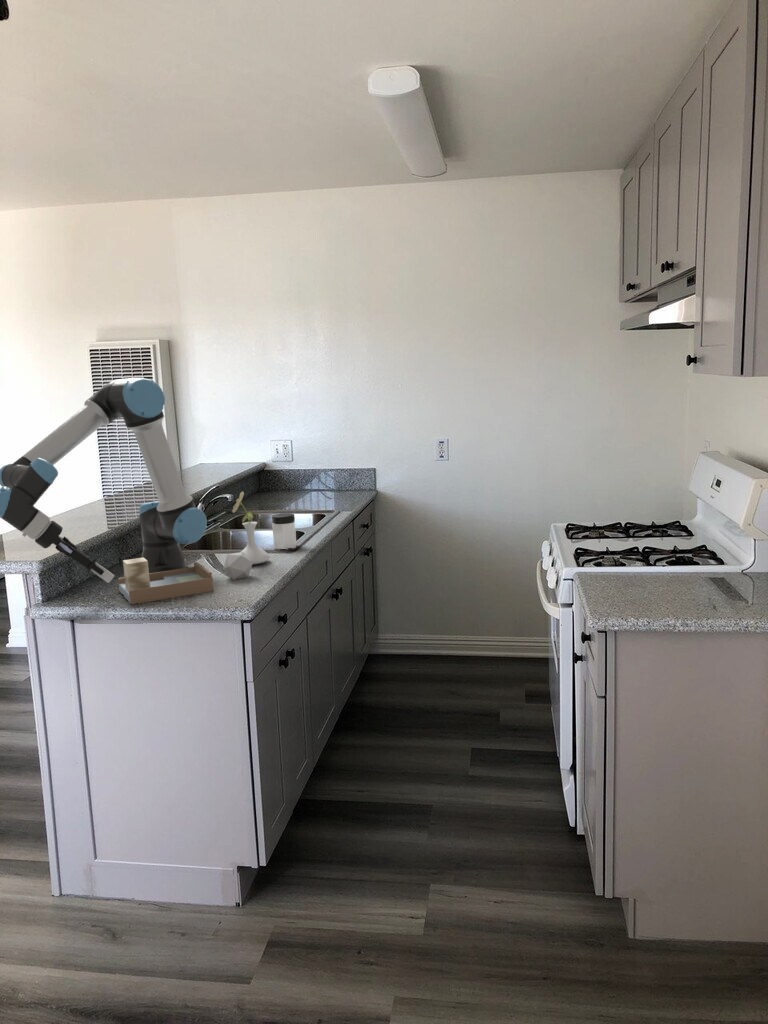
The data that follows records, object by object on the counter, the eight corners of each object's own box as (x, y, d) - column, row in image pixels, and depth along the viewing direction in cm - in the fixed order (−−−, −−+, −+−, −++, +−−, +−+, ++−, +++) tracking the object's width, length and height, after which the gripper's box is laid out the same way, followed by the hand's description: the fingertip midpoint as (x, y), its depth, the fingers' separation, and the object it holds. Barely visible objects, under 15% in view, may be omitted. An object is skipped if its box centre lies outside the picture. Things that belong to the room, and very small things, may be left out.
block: (129, 591, 238) (126, 564, 236) (125, 586, 243) (122, 560, 242) (150, 587, 241) (147, 561, 239) (146, 583, 246) (143, 557, 244)
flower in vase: (247, 558, 284) (241, 487, 280) (276, 560, 279) (270, 487, 275) (226, 567, 272) (220, 493, 268) (256, 569, 268) (250, 493, 263)
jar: (296, 549, 295) (293, 516, 293) (273, 550, 295) (270, 517, 293) (297, 544, 304) (295, 512, 302) (275, 545, 304) (272, 513, 302)
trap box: (130, 604, 233) (128, 585, 232) (119, 591, 248) (117, 573, 247) (213, 590, 243) (212, 572, 242) (197, 578, 259) (196, 561, 258)
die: (247, 574, 264) (227, 552, 262) (262, 564, 258) (242, 541, 257) (233, 589, 257) (213, 567, 256) (248, 579, 252) (227, 556, 250)
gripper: (31, 537, 233) (99, 584, 243) (35, 544, 221) (106, 594, 231) (49, 516, 234) (115, 564, 244) (54, 522, 223) (123, 573, 233)
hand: (111, 579), depth 238 cm, fingers closed
